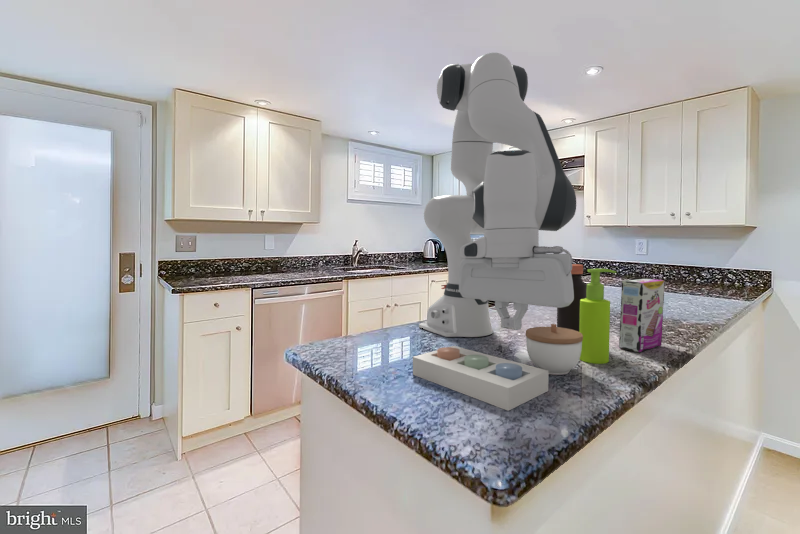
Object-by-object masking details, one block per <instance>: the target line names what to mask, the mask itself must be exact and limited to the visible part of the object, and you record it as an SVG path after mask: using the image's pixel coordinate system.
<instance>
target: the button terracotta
mask: <svg viewBox="0 0 800 534" xmlns="http://www.w3.org/2000/svg"><path fill="white" fill-rule="evenodd" d="M436 350H437V357H438V358H442V359H445V360H448V361H451V360H454V359H457V358H460V350H459V349H457V348H452V347H451V346H444V347H439V348H437V349H436Z"/></svg>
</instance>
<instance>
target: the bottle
mask: <svg viewBox="0 0 800 534" xmlns="http://www.w3.org/2000/svg"><path fill="white" fill-rule="evenodd" d="M571 274H572V280H573V289H574V300H573V302H572V303H571V304H570V305H569V306H566V307H561V308H557V309H556V327H560V328H567V329H572V330H575V331H578V332H579V325H580V300H581V299H585V298H586V289H587V284H586V282H584V280H583V279H582V276H583V274H584V264H577V263H576V264H575V263H572V270H571Z"/></svg>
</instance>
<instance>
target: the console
mask: <svg viewBox="0 0 800 534" xmlns="http://www.w3.org/2000/svg"><path fill="white" fill-rule="evenodd" d="M450 347H452V348H457V349H459V350H460V358H457V359H454V360H451V361H448V360H445V359H442V358H438V357H437V350H438V349H436V350H433V351H428V352H426V353H422V354H419V355H414V356H412V375H413V376H415V377H418V378H421V379H423V380H425V381H429V382H431V383H434V384H436V385H439V386H442V387H445V388H447V389H449V390H453V391H454V392H458V393H460V394H464V395H465V396H468V397H471V398H474V399H476V400H479V401H481V402H484V403H486V404H489V405H492V406H493V407H494V406H495V407H497V408H500V409H502V410H506V411H507V412H508V411H511V410H513V409H515V408H517V407H519V406H521V405H523V404H525V403H527V402H529V401H530V400H533V399H534V398H536V397H539V396H541V395H543V394H544V393H546V392H549V374H548V373H549V371H548V370H544V369H540V368H537V367H536V366H532V365H528V364H525V363H521V362H517V361H513V360H509V359H505V358H501V357H499V356H494V355H491V354H487V353H482V352H480V351H475V350H472V349H467V348H463V347H459V346H456V345H452V346H450ZM467 355H483V356H486V357H488V358H489V366H488V367H486V368H483V369H480V370H478V369H474V368H471V367H468V366H464V357H465V356H467ZM500 363H512V364H517V365H519V366H521V367H522V377H520V378H518V379H515V380H510V379H507V378H504V377H500V376H497V375H496V365H497V364H500Z"/></svg>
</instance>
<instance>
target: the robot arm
mask: <svg viewBox="0 0 800 534" xmlns="http://www.w3.org/2000/svg"><path fill="white" fill-rule="evenodd" d="M528 79H529V77H528V73H527V71H526V70H525V68H524V67H521V66H519V65H515V64H512V63H511V61H510V59H509V58H508V57H507V56H506V55H504V54H502V53H499V52H489V53H485V54H483V55H481V56H479V57H478V58H477V59H476V60H475V61H474V63H465V64H459V63H458V62H457V63H454V64H453V63H452V64H448V65H446V66H445V67H443V68H442V70H441V73H440V75H439V77H438V79H437V83H436V94H437V98H438V101H439V104H440V106H441V107H442V109H445V110H448V111H453V112H455V110H456V111H457V112H456V116H455V121H454V125H453V130H452V131H453V132H452V140H451V141H452V142H451V143H452V144H451V155H450V156H451V158H450V170H451V174H452V175H453V176H454V178H455V179H457V181H459V182H461V183H462V184H463V185H464V188H465V191H466V195H463V194H462V195H461V194H445V195H444V194H443V195H439V196H436V197H432V198H430V200H428V202H427V204H426V205H425V208H424V213H423V219H424V222H425V225H426V227H427V228H428V229H429V231H431V232H432V233H433V234H434V235H435V236H436V237H437V238H438V239H439V240H440V242H441V244H442V246H443V248H444V250H445V254H446V259H447V271H448V273H447V275H448V276H447V277H448V280H447V281H448V282H447V283H446V284H441V289H442V290H444V291H443V295H442V296H440V298H439V299H438V300H436V301H435V302H434V303H432V304H431V305H430V306H429V307H428V309H427V313H426V321H422V322H420V323H419V324H418V328H420V329H422V328H423V330H426V331H428V332H430V333H434V334H438V335H439V336H442V337H446V338H457V337H462V338H463V337H465V338H478V337H485V336H489V335H491V334H493V333H494V330H493V325H492V322H491V317H490V309H489V301H491V302H492V301H493V302H494V308H495V310H496V312H497V314H498V316H499V317H500V327H501V328H502V329H508V330H513V331H519V330H521V329H522V324H523V323H522V321H523V319H524V317H525V315H526V313H527V311H528V310H529V306H537V307H548V308H549V307H550V308H561V307H566V306H569V305H570V304H571V303H572V302H573V300H574V289H573V280H572V274H571V270H572V264H573V256H572V254H571V253H570V252H569V250H567V249H566V248H563V246H561V245H560V246H559V245H554V246H540V244H539V241H540V240H539V237H540V236H539V231H546V232H547V231H549V232H557V231H560V229H562V228H564V227H565V226H566V225H567V224H569V222H570V221H571V220H573V218H574V216H575V215H576V212H577V195H576V191H575V189H574V186H573V184H572V182H571V181H570V179H569V178H568V175H566V173H565V171H564V169H563V166H562V164H561V162H560V159H559V156H558V154H557V152H556V149H555V145H554V143H553V141H552V138H551V136H550V133H549V131H548V129H547V126H546V124H545V122H544V120H543V118H542V117H541V115H540V114H539V113H538V112H536V111H534V110H532V109H531V108H530V107H529V106H528V105H527V104H526V103H525V100H526V96H527V93H528V90H529V89H528V88H529V81H528ZM494 143H497V144H502V145H507V146H510V147H514V148H516V149H517V150H516V149H515V150H514V149H513V150H511V149H510V150H502V151H501V150H498V151H494V152H493V150H494V149H493V147H494ZM472 235H483V236H482V237H479V238H477V239H475V240H473V241H472V237H471V236H472ZM510 303H511V304H513V310H515V314H514V315H513V316H512V317H511V315H510V313H509V311H508V308H509V306H510Z"/></svg>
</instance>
